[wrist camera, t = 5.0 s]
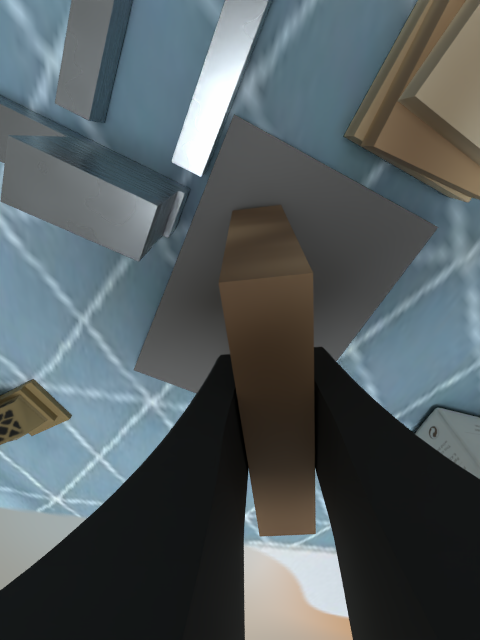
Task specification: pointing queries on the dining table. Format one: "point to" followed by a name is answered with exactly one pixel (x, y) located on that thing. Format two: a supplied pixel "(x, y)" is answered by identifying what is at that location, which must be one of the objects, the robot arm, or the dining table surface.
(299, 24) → the dining table surface
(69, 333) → the dining table surface
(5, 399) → the eiffel tower
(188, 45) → the dining table surface
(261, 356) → the walnut sheet
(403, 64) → the offcut stack
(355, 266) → the mat
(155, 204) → the rack
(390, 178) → the dining table surface
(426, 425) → the skincare box
